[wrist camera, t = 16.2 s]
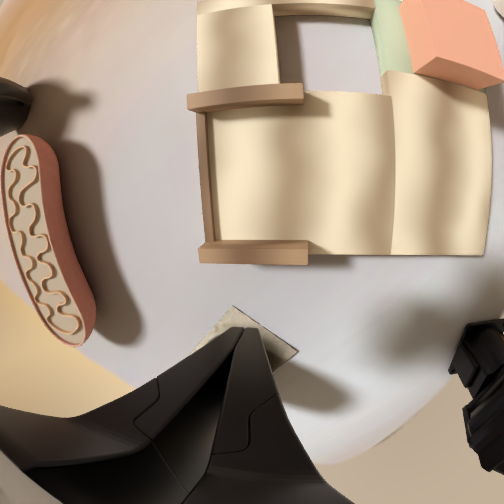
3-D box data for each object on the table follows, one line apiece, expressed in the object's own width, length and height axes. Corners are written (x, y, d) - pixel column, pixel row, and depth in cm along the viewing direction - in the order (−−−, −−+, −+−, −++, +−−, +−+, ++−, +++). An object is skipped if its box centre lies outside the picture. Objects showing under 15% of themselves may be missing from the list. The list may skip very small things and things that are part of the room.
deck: (458, 28, 11) (468, 21, 9) (471, 247, 18) (483, 255, 16) (205, 12, 15) (197, 2, 13) (217, 244, 22) (209, 253, 20)
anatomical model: (123, 326, 27) (98, 351, 23) (71, 322, 29) (48, 342, 25) (70, 119, 20) (34, 118, 16) (24, 152, 23) (-6, 156, 18)
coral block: (461, 26, 10) (484, 10, 6) (477, 90, 12) (506, 81, 8) (398, 7, 11) (414, -17, 7) (413, 73, 13) (436, 56, 9)
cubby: (302, 91, 15) (302, 82, 13) (307, 254, 19) (307, 264, 17) (198, 100, 16) (186, 94, 14) (209, 253, 20) (199, 263, 18)
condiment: (188, 355, 26) (137, 445, 15) (232, 304, 23) (180, 412, 12) (245, 391, 27) (217, 485, 16) (297, 349, 24) (286, 463, 13)
